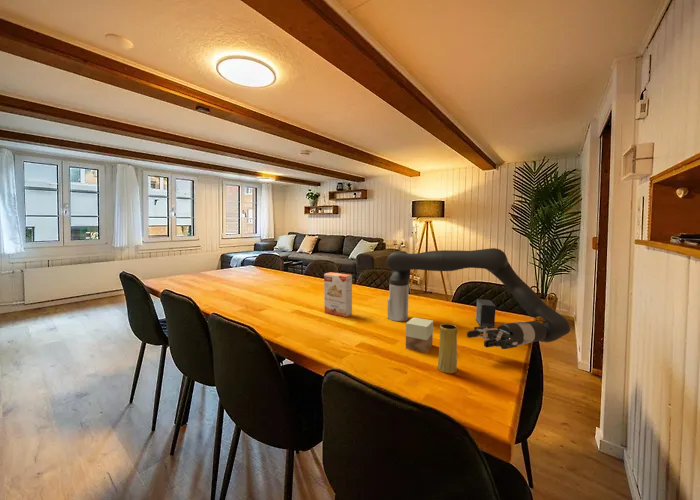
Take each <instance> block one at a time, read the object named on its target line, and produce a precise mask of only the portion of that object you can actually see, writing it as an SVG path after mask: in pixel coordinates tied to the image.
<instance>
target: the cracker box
mask: <svg viewBox="0 0 700 500" xmlns="http://www.w3.org/2000/svg"><path fill="white" fill-rule="evenodd" d="M323 279H324V280H323V281H324V282H323V283H324V286H323V287H324V289H323V290H324V292H323V293H324V313H326V314H331V315H335V316H338V317H339V316H340V317H344V318H347V317H349V316H351V315H353V275H352V274H346V273H340V272H331V271H329V272H326V273H324V275H323Z"/></svg>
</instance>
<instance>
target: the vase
mask: <svg viewBox="0 0 700 500" xmlns="http://www.w3.org/2000/svg"><path fill="white" fill-rule="evenodd" d="M438 345H439V346H438V360H437V369H438V370H439V371H440V372H442V373H444V374H455V373H456V372H458V366H457V363H458V326H456V325H455V324H451V323H442V324H440V325H439V344H438Z"/></svg>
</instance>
